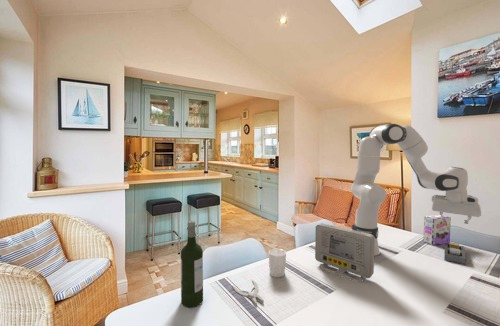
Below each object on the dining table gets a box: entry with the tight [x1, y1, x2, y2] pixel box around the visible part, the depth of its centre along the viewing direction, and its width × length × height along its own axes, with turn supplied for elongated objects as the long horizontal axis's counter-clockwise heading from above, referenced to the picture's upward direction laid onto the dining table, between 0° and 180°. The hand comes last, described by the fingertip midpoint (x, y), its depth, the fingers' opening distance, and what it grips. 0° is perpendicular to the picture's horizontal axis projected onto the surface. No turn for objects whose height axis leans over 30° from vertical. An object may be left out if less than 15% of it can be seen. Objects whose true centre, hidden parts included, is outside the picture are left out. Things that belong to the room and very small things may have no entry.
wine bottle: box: [180, 220, 204, 309], centre depth 86 cm, size 8×8×30 cm
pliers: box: [232, 280, 265, 306], centre depth 92 cm, size 10×2×15 cm
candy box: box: [423, 214, 451, 246], centre depth 143 cm, size 14×6×16 cm, turn 104°
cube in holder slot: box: [449, 248, 460, 256], centre depth 122 cm, size 4×4×5 cm
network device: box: [314, 222, 375, 283], centre depth 108 cm, size 26×9×20 cm, turn 47°
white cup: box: [268, 248, 287, 278], centre depth 107 cm, size 8×8×10 cm
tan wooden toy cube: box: [449, 241, 460, 249], centre depth 129 cm, size 4×4×5 cm
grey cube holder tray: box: [443, 243, 467, 266], centre depth 126 cm, size 8×20×3 cm, turn 140°
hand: (454, 221), depth 129 cm, fingers open, 8 cm apart
